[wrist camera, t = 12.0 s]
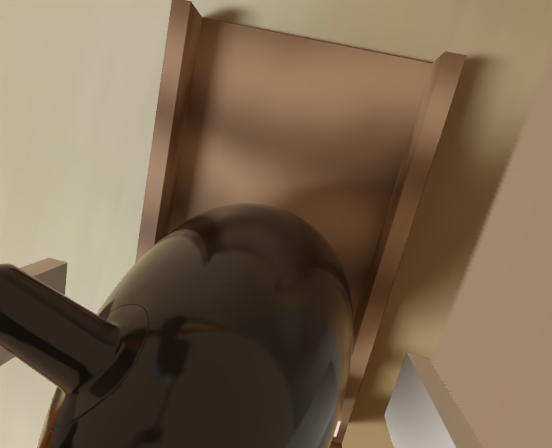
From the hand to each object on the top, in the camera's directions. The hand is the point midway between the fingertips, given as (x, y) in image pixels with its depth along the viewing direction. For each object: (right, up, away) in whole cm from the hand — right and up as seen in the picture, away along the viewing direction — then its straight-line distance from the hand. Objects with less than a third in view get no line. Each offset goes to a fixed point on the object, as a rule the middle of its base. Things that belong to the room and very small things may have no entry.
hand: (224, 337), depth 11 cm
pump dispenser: (+1, +1, +8) cm, 8 cm away
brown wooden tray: (+2, +3, +9) cm, 9 cm away
